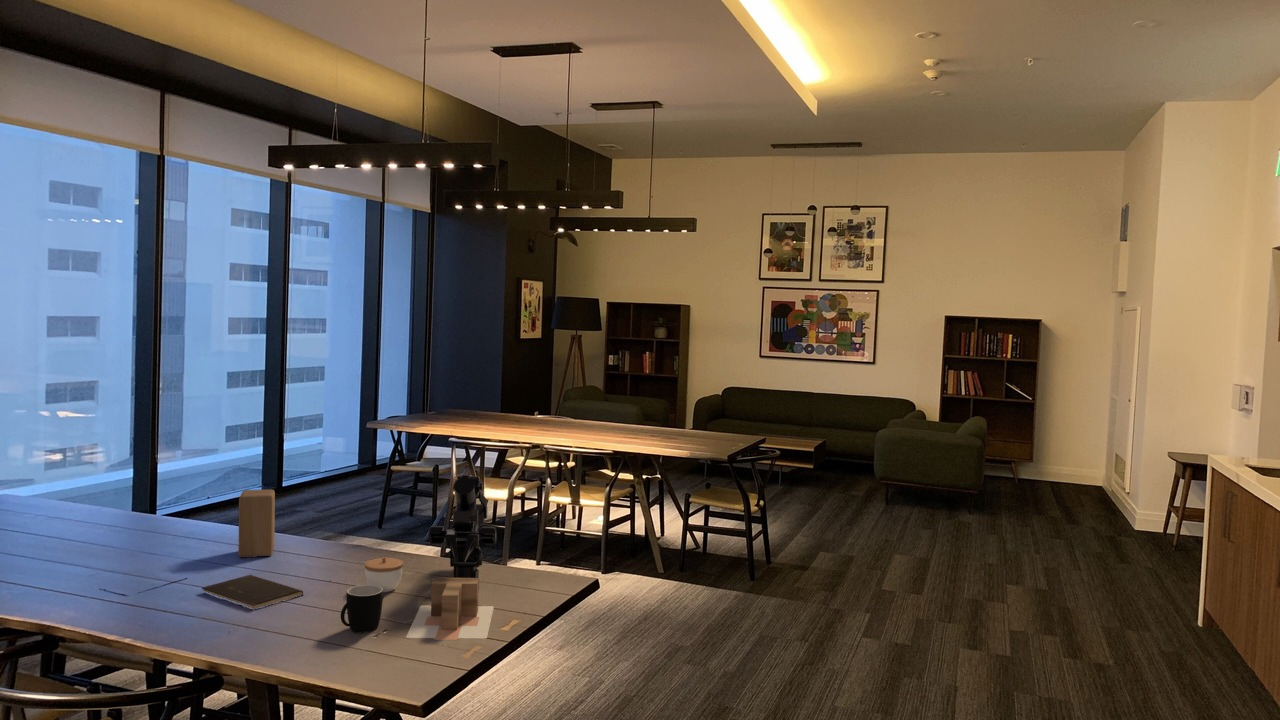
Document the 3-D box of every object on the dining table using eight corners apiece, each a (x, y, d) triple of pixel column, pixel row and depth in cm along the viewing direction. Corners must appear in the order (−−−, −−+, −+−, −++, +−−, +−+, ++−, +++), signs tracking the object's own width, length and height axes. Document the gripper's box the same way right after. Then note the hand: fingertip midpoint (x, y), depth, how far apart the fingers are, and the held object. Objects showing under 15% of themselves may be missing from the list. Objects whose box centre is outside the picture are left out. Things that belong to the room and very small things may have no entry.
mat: (486, 641, 233) (486, 640, 233) (404, 640, 231) (404, 639, 231) (494, 607, 258) (494, 606, 258) (420, 606, 256) (420, 605, 256)
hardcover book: (253, 613, 248) (253, 604, 248) (201, 595, 260) (201, 587, 260) (303, 597, 262) (303, 589, 261) (252, 581, 274) (252, 574, 274)
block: (241, 550, 303) (242, 489, 302) (274, 548, 306) (275, 488, 305) (238, 558, 294) (238, 496, 293) (272, 557, 297) (272, 495, 296)
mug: (365, 620, 244) (365, 582, 244) (389, 627, 240) (390, 589, 239) (328, 633, 234) (329, 594, 233) (353, 641, 229) (354, 601, 229)
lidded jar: (356, 590, 268) (356, 558, 267) (382, 581, 277) (383, 550, 276) (384, 597, 263) (385, 564, 262) (410, 587, 272) (411, 556, 271)
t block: (472, 630, 239) (473, 595, 238) (425, 629, 238) (426, 595, 238) (478, 610, 254) (479, 578, 253) (433, 609, 253) (434, 577, 252)
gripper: (430, 497, 263) (423, 546, 253) (496, 499, 265) (492, 548, 254) (433, 518, 272) (427, 566, 261) (497, 519, 273) (494, 567, 263)
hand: (460, 561), depth 260 cm, fingers closed
